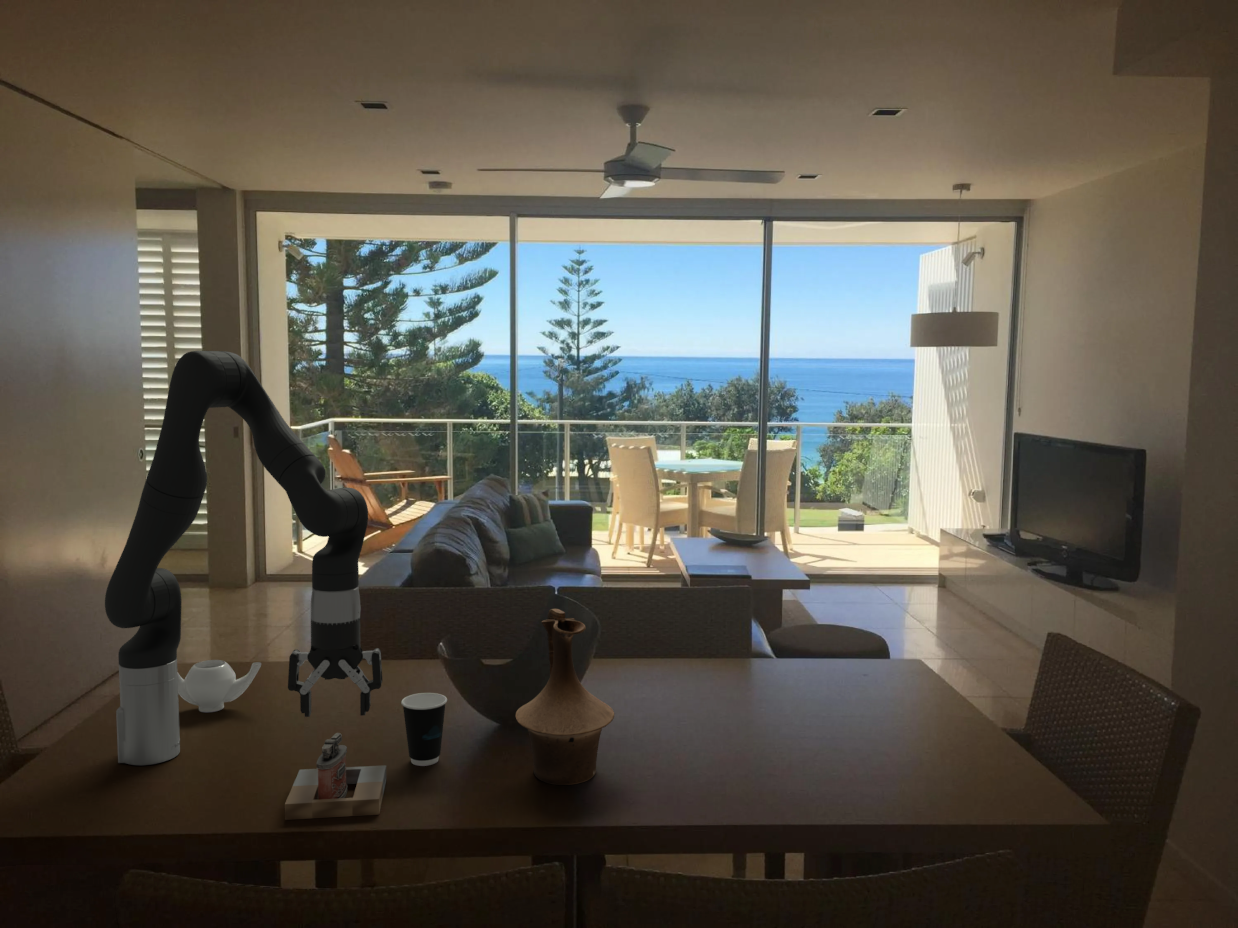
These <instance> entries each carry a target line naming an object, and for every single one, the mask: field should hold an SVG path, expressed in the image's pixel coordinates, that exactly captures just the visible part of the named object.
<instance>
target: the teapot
mask: <svg viewBox="0 0 1238 928" xmlns="http://www.w3.org/2000/svg"><path fill="white" fill-rule="evenodd" d="M261 666H262V662H259V661H258V662H253V663H251V666H250V669H249V671H248V672H247V674H246V675H243V676H242V677H240V678H237V677H236V676H237V675H236V673H235V671H234V670H233V668H232V667H231V665H230V664H229V663H228V662H226V661H225V660H222V659H208V660H203V661H198V662H197V663H194V664H193V665H192V666H191V668H190V669H189V671H188V672H187V674H186V676H185V678H183V677H182V676H181V675H180V673H179V672H178V671H177V674H178V696H180V697H181V698H182V699H183V700H184V701H185V702H187V703H189V704H191V705H193V706H198V711H199V712H201V713H215V712H218V711H221V710H223V709H224V708H225V703H230V702H232V701H235V700H236V699H238V698H239V697H240V696H242V694H243V693H245V691H246V690H247V689H248V688H249V686H250V685H251V684H252V682H253V680H254V679H255V677H256V676H257V674H258V672H259V671H260V669H261Z"/></svg>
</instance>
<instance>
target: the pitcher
mask: <svg viewBox="0 0 1238 928" xmlns="http://www.w3.org/2000/svg"><path fill="white" fill-rule="evenodd" d="M541 624H542V626H543V627H544V629H545V630H546V634H547V647H548V660H549V662H548V663H549V678H548V680H547V682H546V684H545V686H544V687H543V688H542V689H541V691H539V693H538V694H537V695H536V696H535V697H534V698H533V699H531V700H530V701H529V702H527V703H525V704H523V705H522V706H520V707H519V708H518V709H517V710H516V712H515V718H516V721H517V723H518V724H519V725H521V726H522V727H523V728H525V729H527V732H528V737H529V740H530V741H529V742H530V746H531V754H532V760H533V775H534V776H535V777H536V778H537V779H538V780H539V781H541V782H544V783H547V784H552V785H557V786H558V785H559V786H567V785H568V786H570V785H572V786H573V785H577V784H581V783H584V782H587V781H589V780H591V779H592V778H593V777H594V776H595V775H596V773H597V760H598V751H599V744H600V738H601V733H602V730H603V729H604V728H606V727H608V726H609V725H610V724H611V723H612V722H613V720H614V719H615V712H614V709H613V708H612V707H611V706H609V704H608V703H605V702H604V701H602V700H601V699H599V698H597V696H595V695H593V694H592V693H591V692H589V690H587V689H586V688H585V687H584V686H583V685H582V683H581V682H580V680H579V678H578V676H577V672H576V670H575V666H574V660H573V637H574V636H576V635H579V634H582V633H584V631H585V630H586V628H587V627H586V625H585V624H584V623H583V622H581V621H579V620H576V619H575V618H572V617H567V618H566V612H565V611H563V610H561V609H559V608H551V609H549V610H548V613H547V619H544V620H542V621H541Z"/></svg>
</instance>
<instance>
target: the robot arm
mask: <svg viewBox="0 0 1238 928" xmlns="http://www.w3.org/2000/svg"><path fill="white" fill-rule="evenodd" d="M210 408H211V409H212V408H213V409H215V408H230V409H231V410H233V411H234V412H235V413H236V414H237V415H238V416H240V418H242V419H243V420H244V422H245V423H246V424H247V426H248V427H249V429H250V431H251V434H252V438H253V439H252V440H253V444H254V449H255V453H256V455H257V457H258V459H259V461H260V463H261V465H262V466H263V467H264V468H265V470H266V471H267V472H268V473H269V474H270V475H271V477H272V478H273V479H274V480H275V481H276V482H277V484H278V485H279V486H280V487H281V488H282V489H283V490H284V491H285V493H286V495H287V498H288V499H289V501H290V504H291V507H292V509H294V512H295V514H296V516H297V519H298V520H299V523H301V525H302V526H303V527H304V529H306V530H307V531H308V532H310V533H311V534H313V535H315V536H317V537H321V538H323V537H325V538H326V537H328V538H327V542H326V544H325V545H324V546H323V547H322V548H321V549H319V550H318V551H316V552H315V553H314V555H313V557H312V563H311V596H310V649H309V651H300V649H296V648H295V649H294V650H292V651H291V653H290V655H289V656H288V657H289V661H288V676H287V677H288V678H287V679H288V680H287V689H288V690H289V691H291V692H293V691H295V692H297V693H298V694H299V695H300V696H299V698H300V703H299V706H300V710H299V711H300V712H301V714H304V718H305V717H306V718H310V717H311V714H312V690H311V689H312V687H313V686H314V685H315V684H316V683H317V682H318V680H319V679H320V678H322V679H324V681H325V680H328V681H329V680H333V679H338V680H346V679H347V678H350V680H351V681H352V682H353V683H354V684H355V685H357V687H358V688H359V689H360V693H359V694H360V698H359V699H360V703H359V704H360V710H359V711H360V712H359V713H360V714H359V715H360V716H366V713H368V712H369V711H370V707H371V692H372V691H374V690H379V689H380V688H381V687H382V684H383V665H382V650H381V649H380V648H378V647H376V648H374V649H373V650H363V649H362V646H361V611H362V607H361V596H360V590H359V589H360V588H359V586H360V583H359V579H360V578H359V577H360V576H359V575H360V574H359V570H360V569H359V559H360V556H361V552H362V549H363V546H364V541H365V537H366V533H367V528H368V521H369V508H368V505H367V501H366V498H365V497H364V495H363V494H362V493H361V492H360V491H359V490H358V489H355V488H353V487H341V488H340V487H339V488H335V489H334V488H333V489H328V490H327V489H326V488H324V487H323V486H322V483H323V482H324V480H325V478H326V468H325V467H324V465H323V463H322V462H321V460H319V459H318V457H317V456H316V455H315V454H314V453H313V452H312V451H311V450H310V449H309V447H308V446H306V444H305V443H304V442H303V441H302V440H301V439H300V438H299V436H298V435H297V434H296V433H295V432H294V431H293V429H292V428H291V427H290V426H289V424H287V421H285V419H284V418H283V416H282V415H281V413H280V411H279V410H278V408H277V407H276V405H275V403H274V402H273V401H272V398H271V397H270V396H269V394H268V393H267V392H266V390H265V388H264V387H263V385H262V383H261V382H260V380H259V379H258V377H257V375H256V374H255V373H254V371H253V369H252V368H251V367H250V366H249V364H248V362H247V361H246V360H245V359H244V358H242V356H240V355H239V354H237V353H235V352H232V351H231V352H230V351H225V350H224V351H223V350H221V351H220V350H192V351H187V352H186V353H184V354H183V355H181V356H180V357H179V359H178V360H177V362H176V364H175V365H174V368H173V371H172V375H171V379H170V382H169V387H168V392H167V399H166V404H165V410H164V413H163V414H164V415H163V420H162V424H161V428H160V433H159V437H158V440H157V443H156V447H155V450H154V451H155V452H154V455H153V459H152V461H151V465H150V467H149V470H148V473H147V475H146V479H145V482H144V486H143V488H142V491H141V495H140V499H139V503H138V507H137V510H136V514H135V517H134V519H133V523H132V525H131V529H130V531H129V534H128V536H127V537H128V538H127V539H126V543H125V545H124V548H123V550H122V552H121V554H120V557H119V559H118V561H117V564H116V566H115V568H114V570H113V572H112V574H111V576H110V579H109V582H108V585H107V587H106V591H105V596H104V597H105V598H104V609H105V613H106V617H107V619H108V620H109V622H110V623H111V624H112V625H113V626H115V627H116V628H119V629H120V628H121V629H132V628H138V629H137V631H136V632H135V634H133V636H132V637H130V639H129V640H127V641H126V642H125V643H124V644H123V645H121V647H120V648H119V649H118V675H119V677H118V678H119V681H118V682H119V698H120V700H119V701H120V706H119V707H118V708H117V709H116V711H115V713H116V714H115V715H116V735H117V736H116V737H117V738H116V743H117V763H118V764H128V765H132V766H150V765H156V764H160V763H164V762H167V761H169V760H172V759H174V758H175V757H177V756H178V755H179V754H180V752H181V738H180V710H179V709H180V707H179V706H180V705H179V703H180V702H179V694H178V674H177V672H178V648H179V645H180V643H181V638H182V637H181V636H182V593H181V588H180V583H179V582H178V579H177V577H176V576H175V575H174V574H173V572H171V570H169V569H167V568H162V567H158V566H159V564H160V563H161V561H162V560H163V559H164V557H165V555H166V554H167V553H168V552H169V551H170V549H172V548H173V546H174V545H175V544H176V543H177V542H178V540H180V538H181V537H182V536H183V535H184V533H186V532H187V531H188V529H189V528H190V527H191V525H192V524H193V523H194V521H195V520H196V517H197V515H198V512H199V510H200V507H201V504H202V502H203V498H204V495H205V492H206V490H207V485H208V472H207V469H206V463H205V461H204V458H203V455H202V451H201V447H200V434H201V430H202V426H203V422H204V420H205V417H206V414H207V412H208V410H209V409H210ZM363 659H365V660H366V662H367V664H368V665H369V666H371V668H372V671H371V672H372V679H368V678H367V676H366V675H365V673H364V671H363V670H362V669H361V667H360V666H359V664H360V663H361V662H362V661H363ZM306 660H307V661H308V663H309V664H310V665H311V666H312V668H313V671H311V673H310V674H309V676H308V677H307V679H305V681H300V680H299V679H300V677H299V676H300V667H302V666H303V665H304V663H305V661H306Z"/></svg>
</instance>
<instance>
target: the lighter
mask: <svg viewBox="0 0 1238 928" xmlns="http://www.w3.org/2000/svg"><path fill="white" fill-rule="evenodd" d="M342 737H343V734H341V733H340V732H336V733H334V734H333V735H332V736H331V738H329V739H325V740H324V742H323V743H324V744H323V745H322V747H321V754H320V755H319V757H318V758H317V761H316V769H318V798H319V799H337V798H346V796H347V794H348V784H346V767H347V761H346V760H347V759H346V755H347V752H348V747H347V746H346V745H344V744H340V743H341V742H342V741H343V738H342Z"/></svg>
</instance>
